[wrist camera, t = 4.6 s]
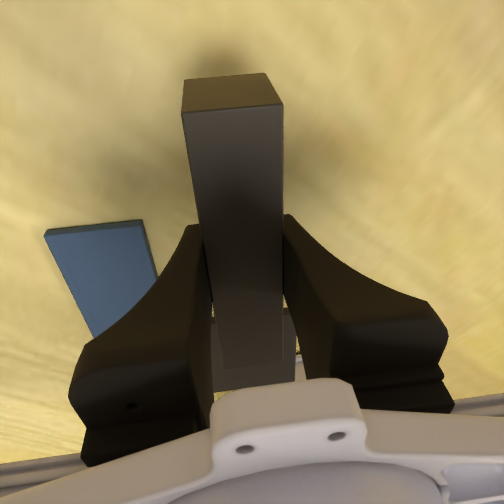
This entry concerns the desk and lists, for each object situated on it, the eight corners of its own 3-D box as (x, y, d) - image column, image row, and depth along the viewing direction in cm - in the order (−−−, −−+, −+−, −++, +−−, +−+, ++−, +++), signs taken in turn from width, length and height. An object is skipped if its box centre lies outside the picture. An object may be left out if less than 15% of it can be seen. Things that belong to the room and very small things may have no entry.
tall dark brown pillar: (293, 374, 23) (305, 426, 20) (210, 385, 22) (212, 440, 20) (302, 68, 12) (330, 99, 10) (145, 82, 12) (131, 117, 9)
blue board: (192, 398, 32) (192, 405, 31) (131, 406, 31) (130, 413, 31) (141, 219, 20) (140, 225, 20) (46, 229, 20) (42, 236, 20)
